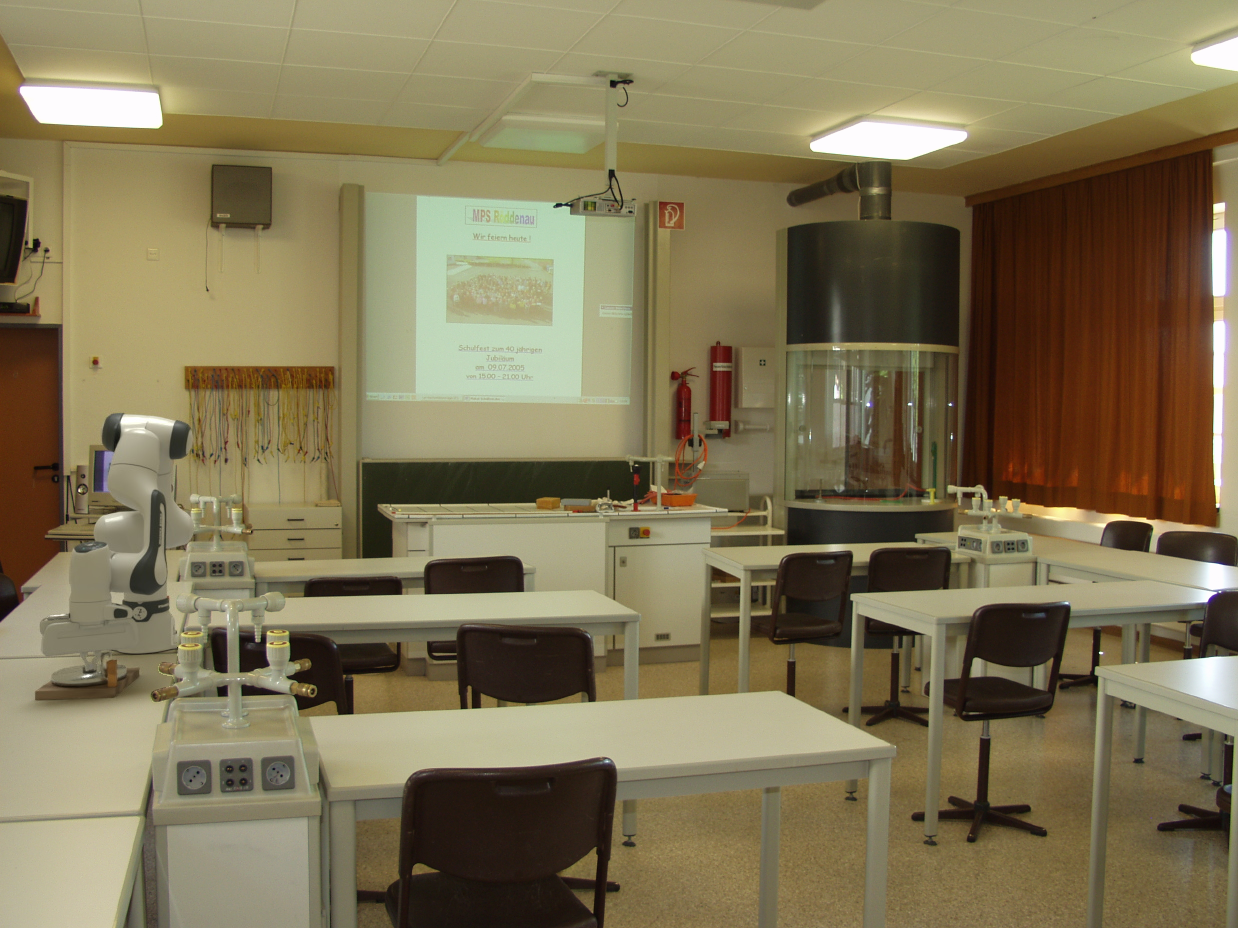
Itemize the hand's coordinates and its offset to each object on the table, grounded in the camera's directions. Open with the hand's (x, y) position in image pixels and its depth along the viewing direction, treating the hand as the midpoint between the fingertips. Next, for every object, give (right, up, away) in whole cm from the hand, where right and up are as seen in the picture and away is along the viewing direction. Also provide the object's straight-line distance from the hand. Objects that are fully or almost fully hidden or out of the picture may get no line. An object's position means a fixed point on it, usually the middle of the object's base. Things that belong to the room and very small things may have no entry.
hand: (90, 670), depth 237 cm
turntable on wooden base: (-4, -5, +6) cm, 9 cm away
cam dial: (-3, -3, +6) cm, 8 cm away
